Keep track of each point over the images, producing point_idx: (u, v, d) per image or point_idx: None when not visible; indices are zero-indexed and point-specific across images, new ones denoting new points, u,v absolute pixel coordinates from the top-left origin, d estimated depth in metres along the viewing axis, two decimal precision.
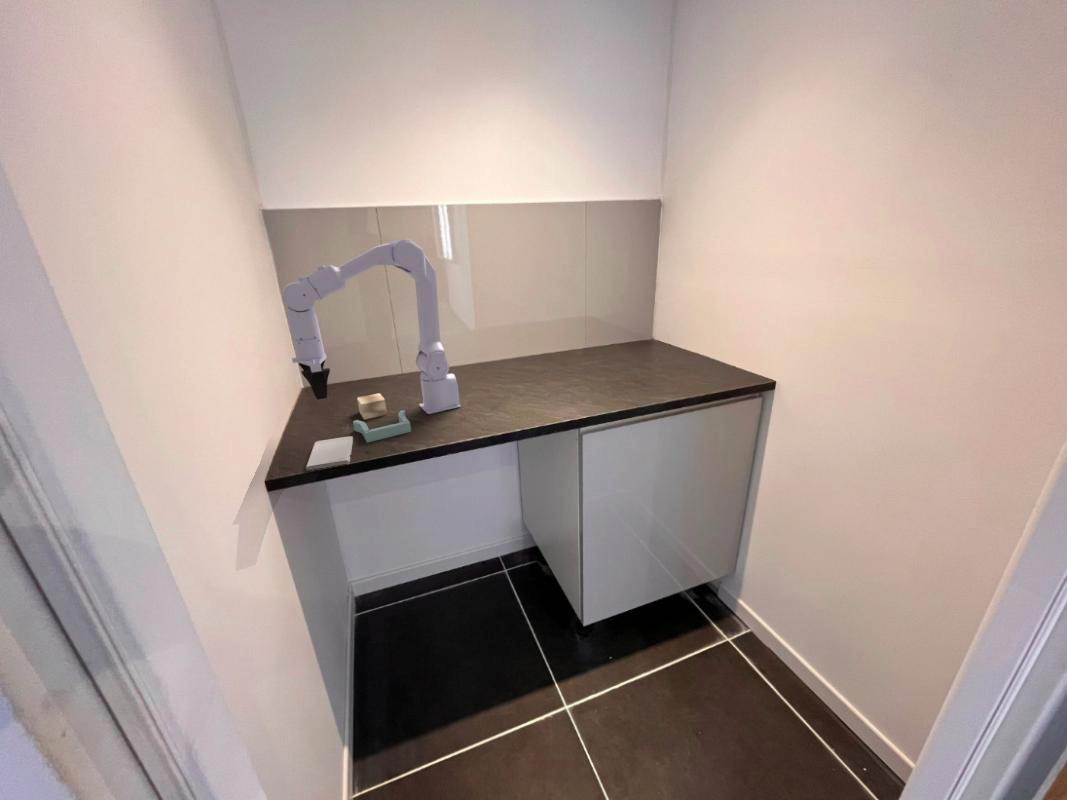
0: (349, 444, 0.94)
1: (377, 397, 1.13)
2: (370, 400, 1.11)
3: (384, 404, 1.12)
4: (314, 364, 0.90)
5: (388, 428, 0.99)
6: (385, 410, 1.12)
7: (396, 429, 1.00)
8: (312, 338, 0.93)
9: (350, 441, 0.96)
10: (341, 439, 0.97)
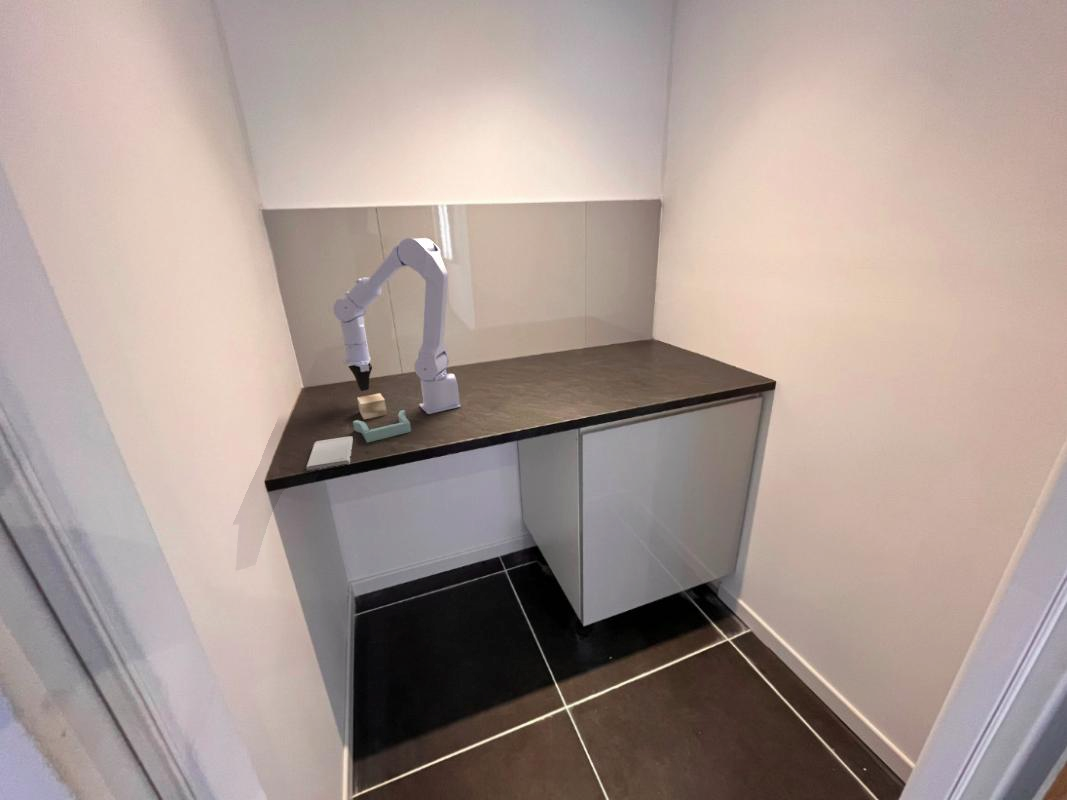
0: (349, 444, 0.94)
1: (377, 397, 1.13)
2: (370, 400, 1.11)
3: (384, 404, 1.11)
4: (363, 365, 1.09)
5: (388, 428, 0.99)
6: (385, 410, 1.12)
7: (396, 429, 1.00)
8: (361, 343, 1.12)
9: (350, 441, 0.96)
10: (341, 439, 0.97)
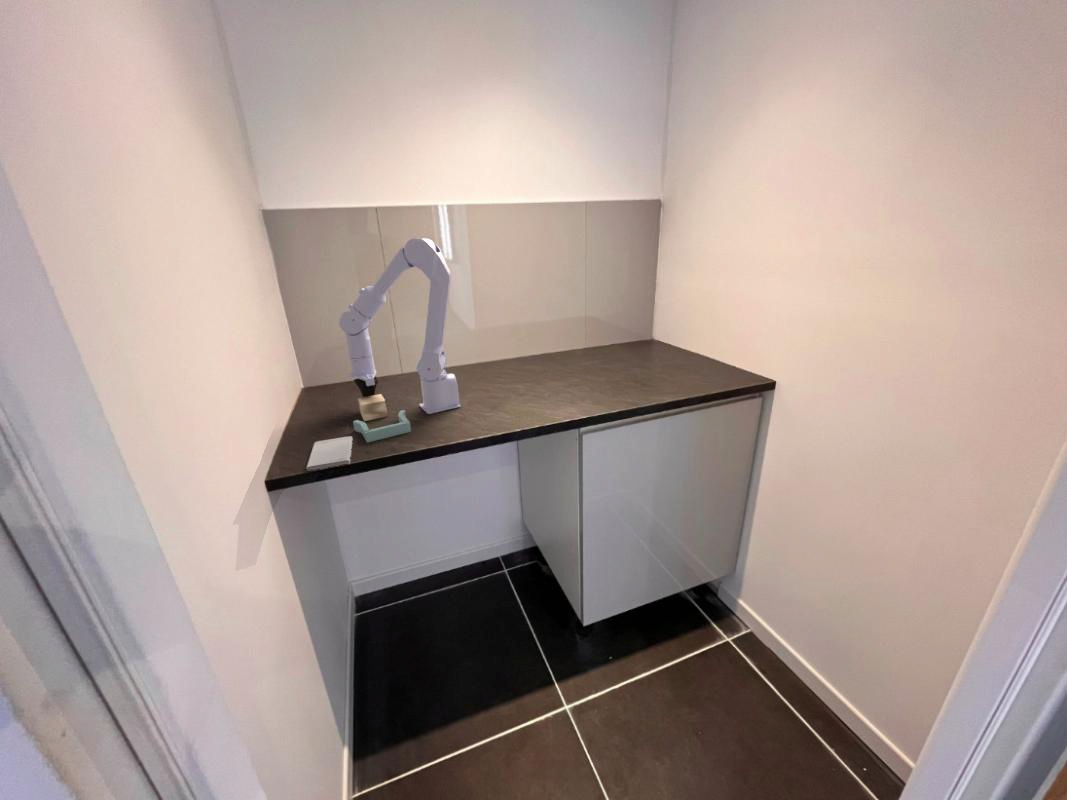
0: (349, 444, 0.94)
1: (378, 398, 1.11)
2: (370, 401, 1.10)
3: (384, 405, 1.10)
4: (369, 379, 1.06)
5: (388, 428, 0.99)
6: (385, 411, 1.11)
7: (396, 429, 1.00)
8: (366, 356, 1.09)
9: (350, 441, 0.96)
10: (341, 439, 0.97)
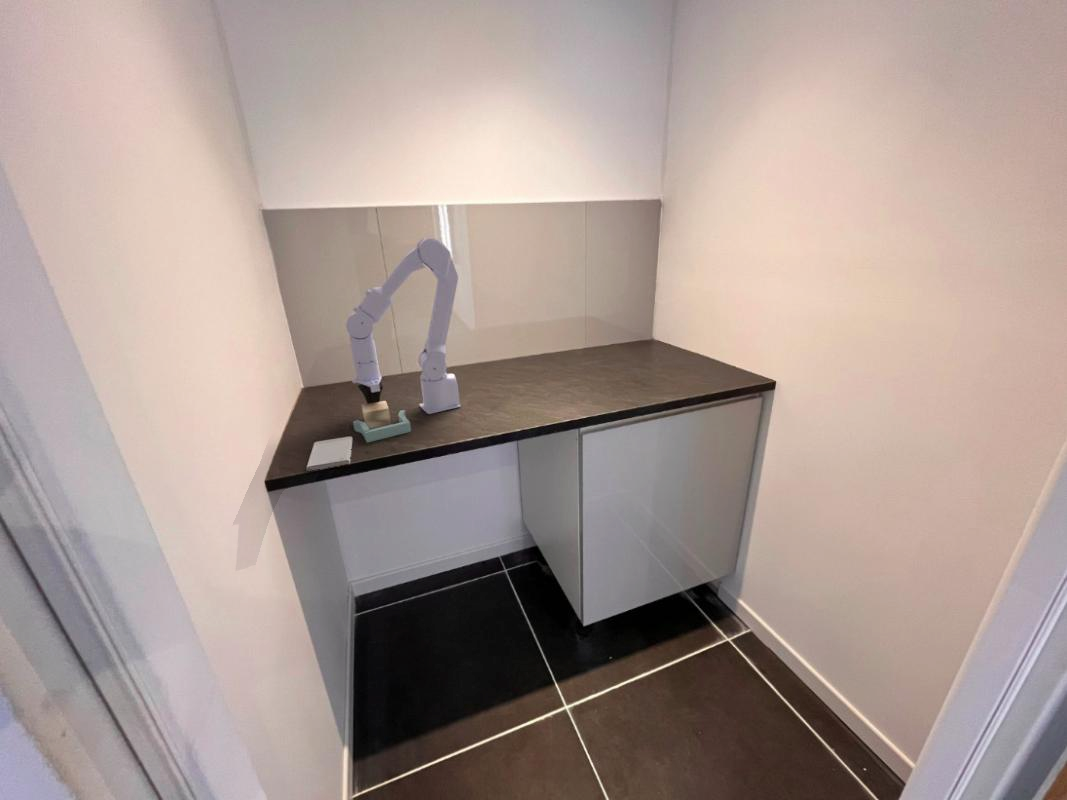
0: (349, 444, 0.94)
1: (382, 405, 1.06)
2: (374, 408, 1.05)
3: (388, 413, 1.05)
4: (374, 385, 1.02)
5: (388, 428, 0.99)
6: (389, 419, 1.06)
7: (396, 429, 1.00)
8: (371, 361, 1.04)
9: (350, 441, 0.96)
10: (341, 439, 0.97)
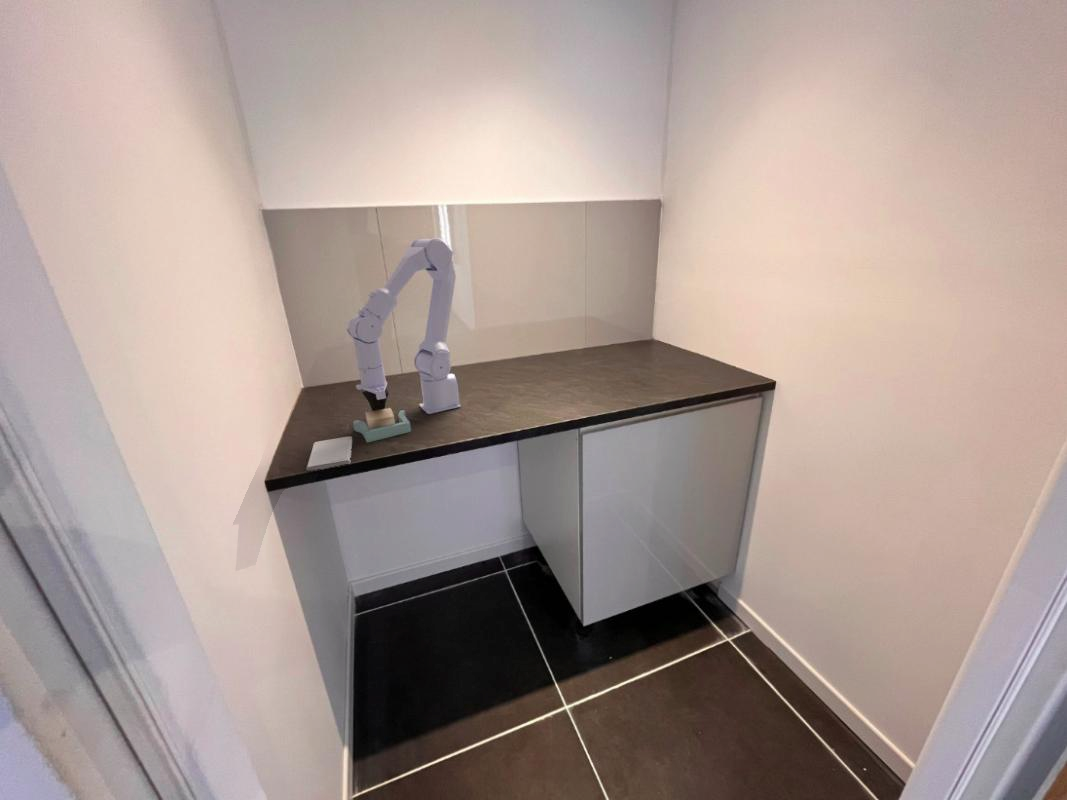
0: (349, 444, 0.94)
1: (386, 413, 1.02)
2: (378, 416, 1.00)
3: (393, 421, 1.00)
4: (380, 392, 0.97)
5: (388, 428, 0.99)
6: None
7: (396, 429, 1.00)
8: (376, 367, 0.99)
9: (350, 441, 0.96)
10: (340, 439, 0.97)
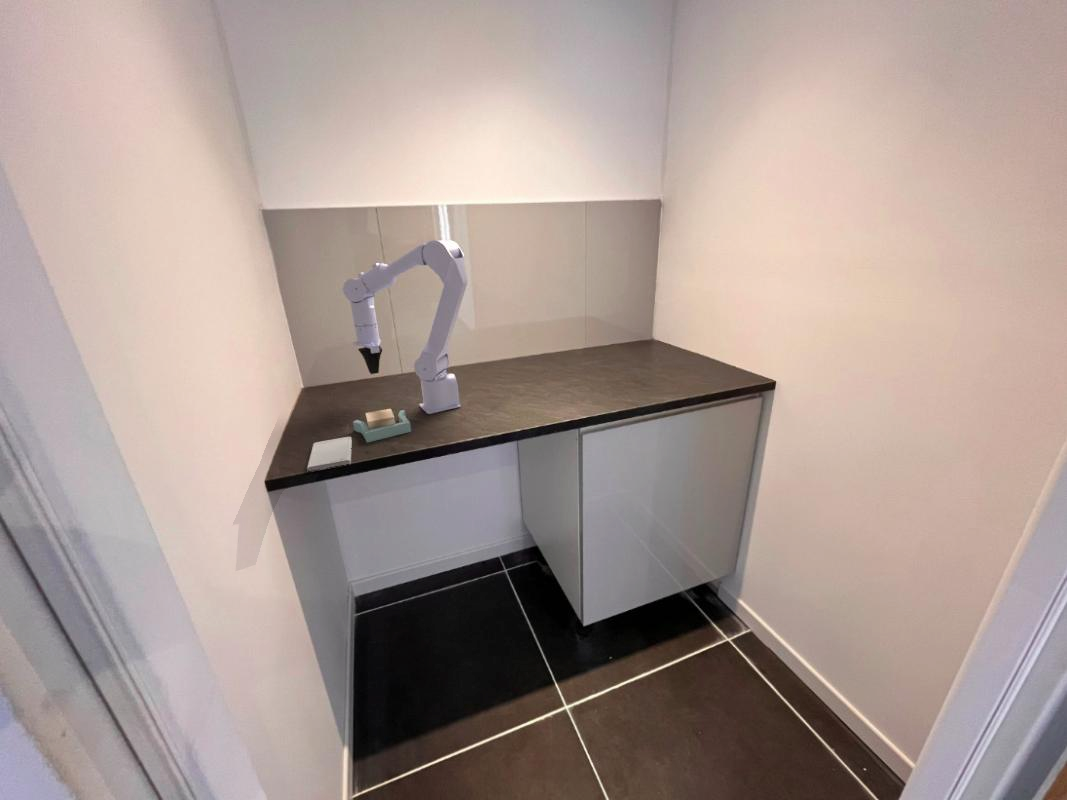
0: (349, 444, 0.94)
1: (387, 414, 1.02)
2: (378, 417, 1.00)
3: (393, 422, 1.00)
4: (374, 346, 1.07)
5: (388, 428, 0.99)
6: None
7: (396, 429, 1.00)
8: (371, 325, 1.10)
9: (349, 441, 0.96)
10: (340, 440, 0.97)
